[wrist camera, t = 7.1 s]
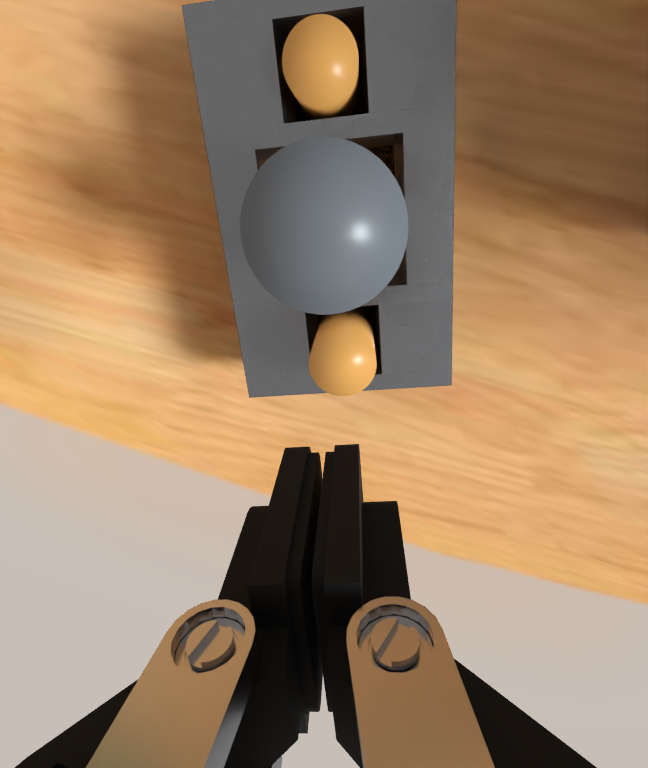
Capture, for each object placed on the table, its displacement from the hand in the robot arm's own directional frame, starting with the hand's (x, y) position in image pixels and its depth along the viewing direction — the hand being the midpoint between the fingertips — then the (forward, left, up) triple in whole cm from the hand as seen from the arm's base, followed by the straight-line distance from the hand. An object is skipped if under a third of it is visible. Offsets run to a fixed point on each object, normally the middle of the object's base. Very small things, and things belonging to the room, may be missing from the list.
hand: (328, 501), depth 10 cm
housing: (-6, 0, -17) cm, 18 cm away
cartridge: (-6, 0, -17) cm, 18 cm away
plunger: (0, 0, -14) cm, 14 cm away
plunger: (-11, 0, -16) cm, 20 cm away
